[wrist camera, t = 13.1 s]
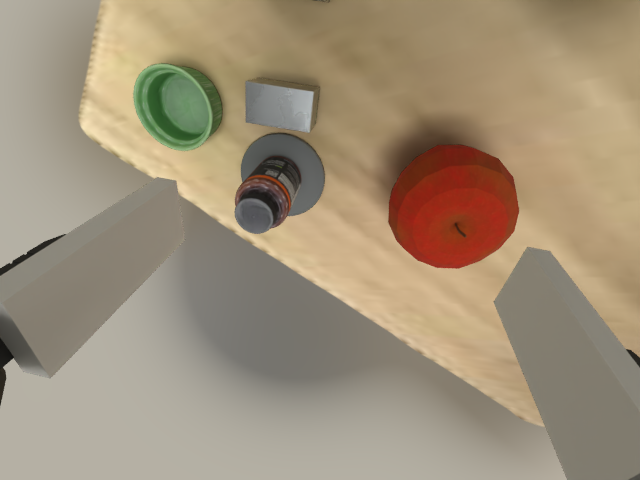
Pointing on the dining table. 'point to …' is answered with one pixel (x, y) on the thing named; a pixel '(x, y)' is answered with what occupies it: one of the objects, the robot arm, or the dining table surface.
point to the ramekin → (177, 105)
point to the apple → (453, 206)
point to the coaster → (299, 156)
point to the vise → (282, 103)
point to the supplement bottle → (267, 194)
